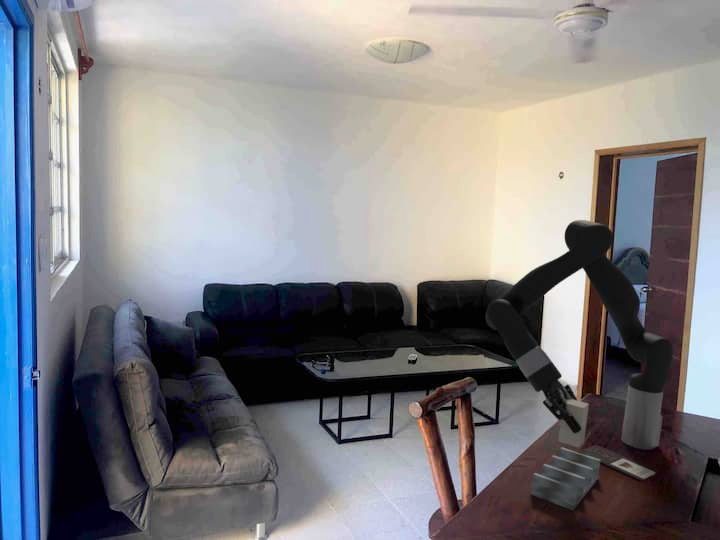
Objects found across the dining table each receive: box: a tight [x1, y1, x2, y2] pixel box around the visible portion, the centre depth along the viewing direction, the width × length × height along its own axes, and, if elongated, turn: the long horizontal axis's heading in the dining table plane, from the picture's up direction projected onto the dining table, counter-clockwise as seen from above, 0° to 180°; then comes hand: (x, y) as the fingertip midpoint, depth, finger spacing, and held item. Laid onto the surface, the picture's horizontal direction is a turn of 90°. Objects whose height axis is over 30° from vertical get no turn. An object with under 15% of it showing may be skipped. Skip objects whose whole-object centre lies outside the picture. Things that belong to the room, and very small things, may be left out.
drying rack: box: [530, 447, 601, 511], centre depth 146 cm, size 10×20×5 cm, turn 143°
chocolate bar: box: [577, 444, 659, 482], centre depth 161 cm, size 9×1×18 cm
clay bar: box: [558, 399, 590, 449], centre depth 143 cm, size 5×4×10 cm
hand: (581, 428), depth 142 cm, fingers closed on clay bar, 4 cm apart
